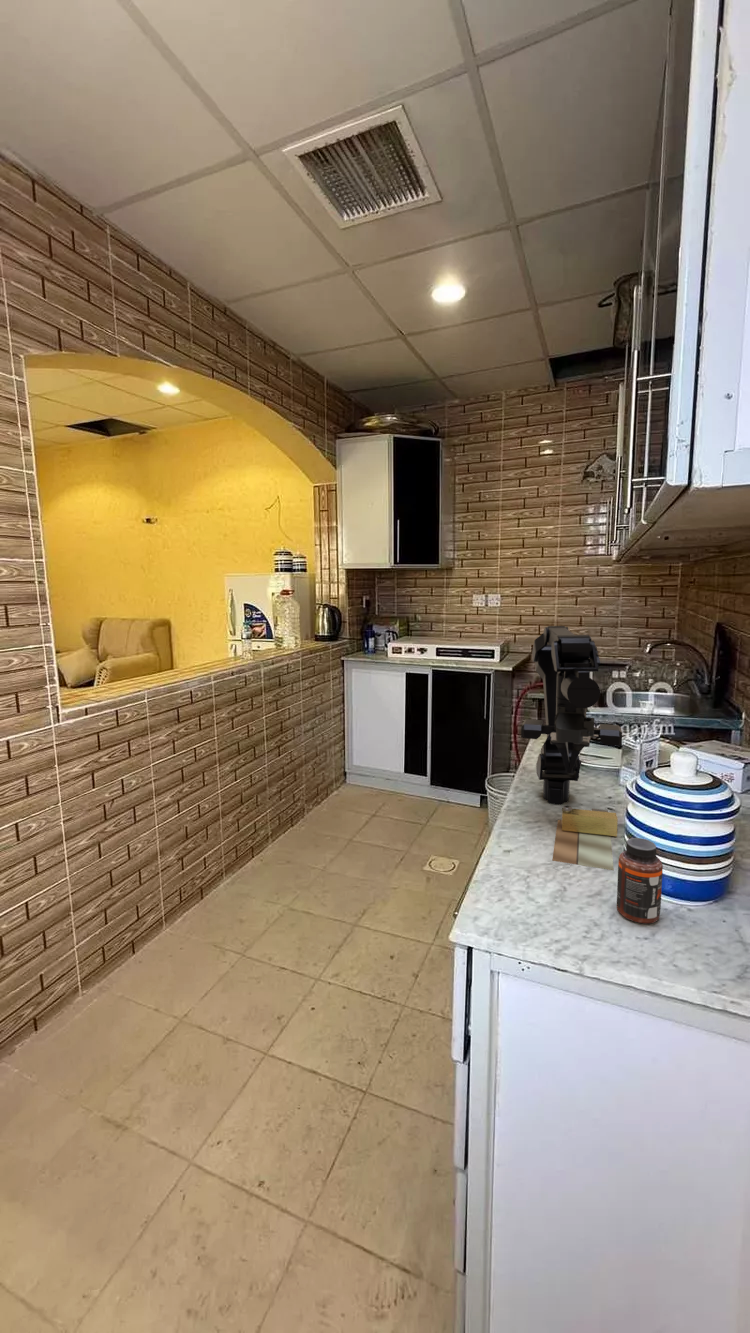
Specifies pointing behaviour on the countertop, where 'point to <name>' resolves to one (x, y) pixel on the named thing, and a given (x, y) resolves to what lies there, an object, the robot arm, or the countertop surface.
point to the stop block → (599, 810)
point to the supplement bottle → (639, 882)
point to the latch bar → (589, 821)
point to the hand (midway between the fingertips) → (569, 772)
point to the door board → (583, 848)
